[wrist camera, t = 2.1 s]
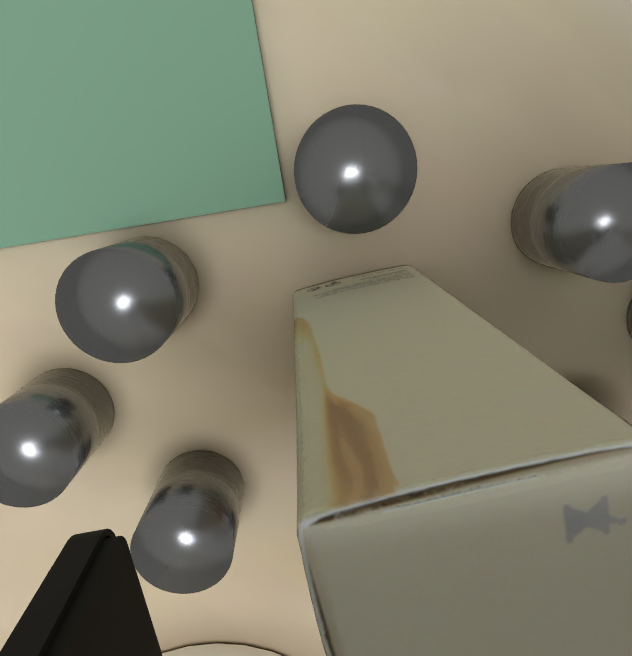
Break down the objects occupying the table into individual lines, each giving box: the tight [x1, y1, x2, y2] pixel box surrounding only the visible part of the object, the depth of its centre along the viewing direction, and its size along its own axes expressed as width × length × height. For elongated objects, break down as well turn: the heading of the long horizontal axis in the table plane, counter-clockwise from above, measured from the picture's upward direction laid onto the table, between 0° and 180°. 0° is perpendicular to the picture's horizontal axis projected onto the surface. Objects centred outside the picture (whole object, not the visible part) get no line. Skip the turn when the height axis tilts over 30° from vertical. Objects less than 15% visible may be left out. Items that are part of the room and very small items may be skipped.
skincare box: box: [293, 265, 632, 656], centre depth 12 cm, size 6×4×12 cm
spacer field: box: [0, 104, 632, 594], centre depth 16 cm, size 25×16×4 cm, turn 99°
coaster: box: [0, 0, 286, 248], centre depth 15 cm, size 10×10×1 cm
